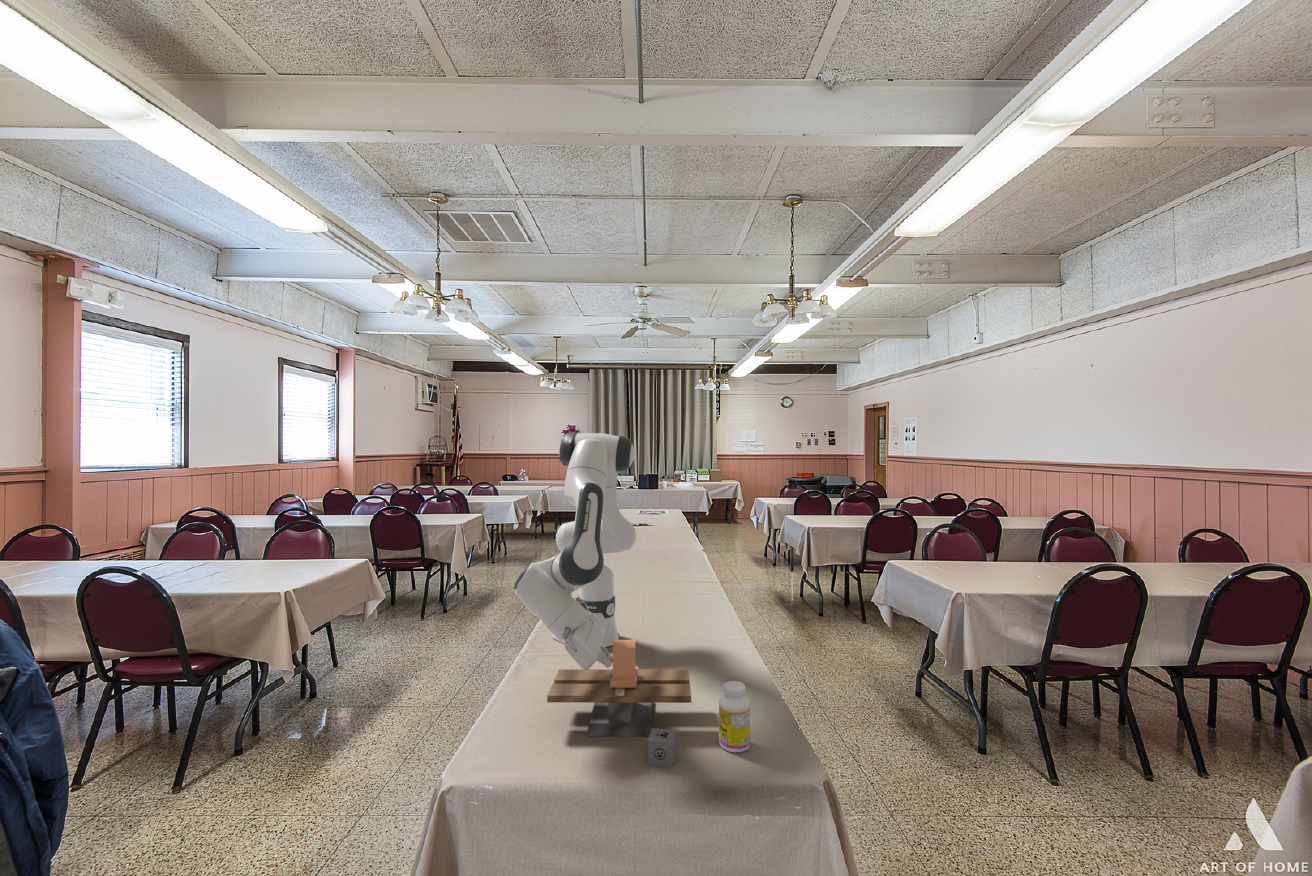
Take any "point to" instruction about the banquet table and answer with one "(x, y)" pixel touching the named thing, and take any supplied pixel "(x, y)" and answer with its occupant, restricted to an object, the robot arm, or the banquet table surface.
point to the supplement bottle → (734, 718)
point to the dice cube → (662, 747)
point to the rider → (624, 665)
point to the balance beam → (620, 698)
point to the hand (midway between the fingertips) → (610, 663)
